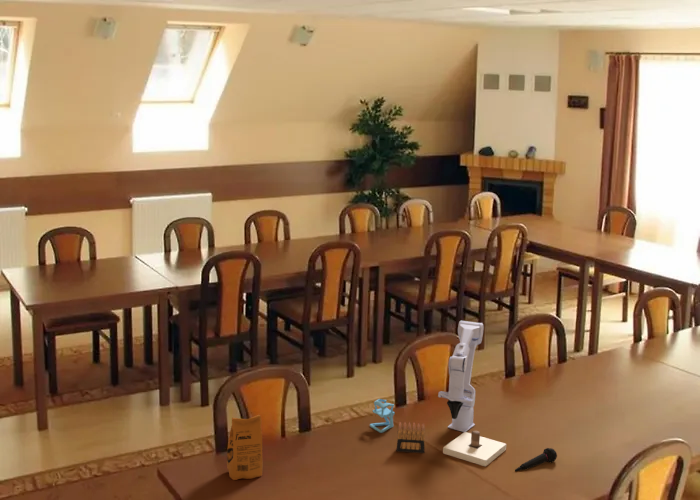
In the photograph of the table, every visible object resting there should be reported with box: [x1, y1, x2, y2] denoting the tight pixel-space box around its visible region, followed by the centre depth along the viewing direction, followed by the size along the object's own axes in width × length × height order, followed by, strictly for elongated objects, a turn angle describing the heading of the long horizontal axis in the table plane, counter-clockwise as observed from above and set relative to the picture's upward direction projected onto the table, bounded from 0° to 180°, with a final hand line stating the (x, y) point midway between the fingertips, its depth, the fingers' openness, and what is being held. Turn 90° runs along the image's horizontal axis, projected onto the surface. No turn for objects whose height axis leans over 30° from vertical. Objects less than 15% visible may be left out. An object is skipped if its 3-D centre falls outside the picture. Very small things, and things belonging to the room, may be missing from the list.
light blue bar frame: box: [369, 398, 396, 434], centre depth 364 cm, size 8×8×12 cm
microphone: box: [514, 447, 558, 472], centre depth 335 cm, size 6×6×20 cm
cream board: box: [442, 431, 507, 467], centre depth 345 cm, size 18×18×2 cm
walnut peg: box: [471, 430, 481, 449], centre depth 345 cm, size 3×3×8 cm
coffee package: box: [226, 414, 264, 481], centre depth 320 cm, size 10×12×22 cm
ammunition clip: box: [396, 421, 426, 454], centre depth 343 cm, size 11×2×12 cm, turn 85°
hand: (454, 418), depth 352 cm, fingers closed
